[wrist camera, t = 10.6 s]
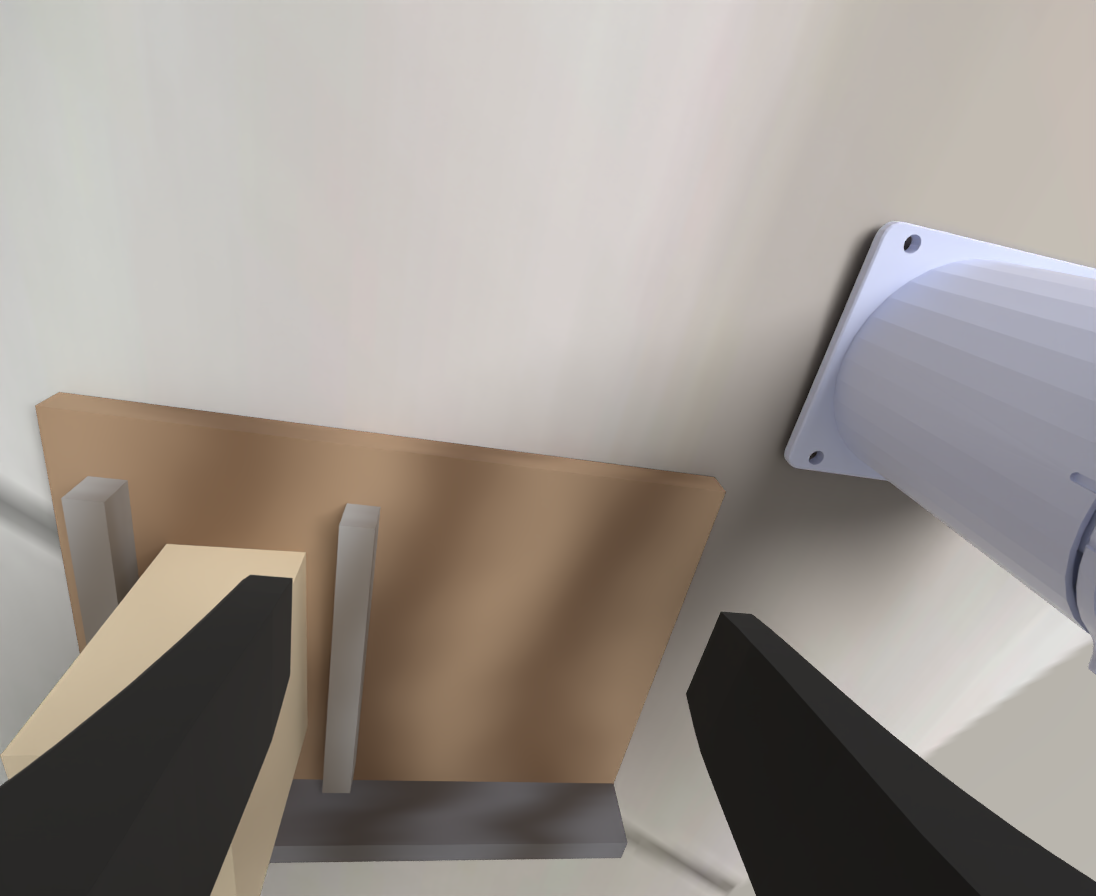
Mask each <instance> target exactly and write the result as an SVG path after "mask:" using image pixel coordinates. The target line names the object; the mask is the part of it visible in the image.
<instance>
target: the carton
mask: <svg viewBox="0 0 1096 896" xmlns="http://www.w3.org/2000/svg"><path fill="white" fill-rule="evenodd" d="M249 575H261V576H274V577H286V578H293V583H292V624H291V665H290V678H289V682H288V685H287V689H286V693H285V696H284V700H283V704H282V707H281V711H280V714H279V718H278V721H277V725H276V728H275V732H274V735H273V739H272V742H271V744H270V747H269V750H268V752H267V755H266V757H265V760H264V762H263V765H262V767H261V770H260V772H259V775H258V778H257V780H256V783H255V785H254V788H253V790H252V793H251V795H250V798H249V800H248V803H247V805H246V808H245V810H244V813H243V815H242V818H241V820H240V823H239V825H238V828H237V830H236V833H235V835H234V838H233V840H232V843H231V845H230V848H229V850H228V853H227V855H226V858H225V860H224V863H223V865H222V868H221V870H220V873H219V875H218V878H217V880H216V883H215V885H214V888H213V890H212V893H211V895H210V896H260V894H261V890H262V886H263V883H264V879H265V876H266V872H267V869H268V865H269V862H270V858H271V855H272V851H273V847H274V844H275V840H276V837H277V833H278V830H279V826H280V823H281V819H282V816H283V812H284V809H285V805H286V801H287V798H288V794H289V791H290V787H291V784H292V780H293V777H294V773H295V770H296V766H297V762H298V759H299V755H300V752H301V748H302V745H303V741H304V738H305V734H306V731H307V727H308V718H307V619H306V552H291V551H275V550H258V549H242V548H225V547H209V546H192V545H176V544H166V545H165V546H164V548H163V549H162V550H161V551H160V553H159V554H158V555H157V557H156V558H155V559H154V560H153V562H152V563H151V564H150V566H149V567H148V568H147V569H146V571H145V572H144V573H143V574H142V576H141V577H140V578H139V580H138V581H137V582H136V583H135V585H134V586H133V587H132V588H131V590H130V591H129V592H128V594H127V595H126V596H125V597H124V599H123V600H122V601H121V602H120V604H119V605H118V606H117V608H116V609H115V610H114V611H113V613H112V614H111V615H110V616H109V618H108V619H107V620H106V622H105V623H104V624H103V625H102V627H101V628H100V629H99V631H98V632H97V633H96V634H95V636H94V637H93V638H92V639H91V641H90V642H89V643H88V645H87V646H86V647H85V648H84V650H83V651H82V652H81V653H80V655H79V656H78V657H77V659H76V660H75V661H74V662H73V664H72V665H71V666H70V667H69V669H68V670H67V671H66V673H65V674H64V675H63V676H62V678H61V679H60V680H59V681H58V683H57V684H56V685H55V687H54V688H53V689H52V690H51V692H50V693H49V694H48V695H47V697H46V698H45V699H44V701H43V702H42V703H41V704H40V706H39V707H38V708H37V710H36V711H35V712H34V713H33V715H32V716H31V717H30V718H29V720H28V721H27V722H26V724H25V725H24V726H23V727H22V729H21V730H20V731H19V732H18V734H17V735H16V736H15V738H14V739H13V740H12V741H11V743H10V744H9V745H8V746H7V748H6V749H5V750H4V752H3V753H2V754H1V755H0V756H1V759H2V762H3V765H4V768H5V771H6V774H7V776H8V779H11V778H12V777H13V776H15V775H16V774H17V773H19V772H20V771H21V770H23V769H24V768H25V767H27V766H28V765H29V764H31V763H32V762H33V761H35V760H36V759H37V758H38V757H40V756H41V755H42V754H44V753H45V752H46V751H48V750H49V749H50V748H52V747H53V746H54V745H55V744H57V743H58V742H59V741H60V740H62V739H63V738H64V737H65V736H67V735H68V734H69V733H70V732H72V731H73V730H74V729H75V728H77V727H78V726H79V725H80V724H81V723H83V722H84V721H85V720H86V719H88V718H89V717H90V716H91V715H93V714H94V713H95V712H96V711H97V710H99V709H100V708H101V707H102V706H104V705H105V704H106V703H107V702H109V701H110V700H111V699H112V698H113V697H115V696H116V695H117V694H118V693H120V692H121V691H122V690H123V689H124V688H125V687H127V686H128V685H129V684H130V683H131V682H133V681H134V680H135V679H136V678H137V677H138V676H139V675H141V674H142V673H143V672H144V671H145V670H146V669H147V668H148V667H150V666H151V665H152V664H153V663H154V662H155V661H156V660H157V659H159V658H160V657H161V656H162V655H163V654H164V653H165V652H167V651H168V650H169V649H170V648H171V647H172V646H173V645H174V644H176V643H177V642H178V641H179V640H180V639H181V638H182V637H183V636H184V635H185V634H186V633H188V632H189V631H190V630H191V629H192V628H193V627H194V626H195V625H196V624H197V623H198V622H199V621H200V620H201V619H203V618H204V617H205V616H206V615H207V614H208V613H209V612H210V611H211V610H212V609H213V608H214V607H215V606H216V605H217V604H218V603H219V602H220V601H221V600H222V599H223V598H224V597H225V596H226V595H227V594H228V593H230V592H231V591H232V590H233V589H234V588H235V587H236V586H237V585H238V584H239V583H240V582H241V581H242V580H243V579H245V578H246V577H247V576H249Z"/></svg>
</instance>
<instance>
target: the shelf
mask: <svg viewBox="0 0 1096 896" xmlns="http://www.w3.org/2000/svg"><path fill="white" fill-rule="evenodd" d="M35 407H36V413H37V418H38V424H39V429H40V435H41V440H42V446H43V451H44V457H45V463H46V468H47V474H48V479H49V485H50V490H51V496H52V501H53V507H54V513H55V518H56V524H57V529H58V535H59V540H60V546H61V551H62V557H63V563H64V568H65V574H66V579H67V585H68V590H69V596H70V601H71V607H72V612H73V618H74V624H75V629H76V635H77V640H78V646H79V651H80V653H81V652H82V651H83V650H84V648H85V647H86V646H87V645H88V643H89V642H90V641H91V639H92V638H93V637H94V636H95V634H96V633H97V632H98V631H99V629H100V628H101V627H102V625H103V624H104V623H105V622H106V620H107V619H108V618H109V616H110V615H111V614H112V613H113V611H114V610H115V609H116V608H117V606H118V605H119V604H120V602H121V601H122V600H123V599H124V597H125V596H126V595H127V594H128V592H129V591H130V590H131V588H132V587H133V586H134V585H135V583H136V582H137V581H138V580H139V578H140V577H141V576H142V574H143V573H144V572H145V571H146V569H147V568H148V567H149V566H150V564H151V563H152V562H153V560H154V559H155V558H156V557H157V555H158V554H159V553H160V551H161V550H162V549H163V548H164V546H165V545H166V544H176V545H192V546H209V547H225V548H242V549H258V550H275V551H291V552H306V619H307V718H308V727H307V731H306V734H305V738H304V741H303V745H302V748H301V752H300V755H299V759H298V762H297V766H296V770H295V773H294V777H293V780H292V784H291V787H290V791H289V794H288V798H287V801H286V805H285V809H284V812H283V816H282V819H281V823H280V826H279V830H278V833H277V837H276V840H275V844H274V847H273V851H272V855H271V858H270V862H269V863H291V862H362V861H433V860H505V859H576V858H621V857H622V854H623V852H624V850H625V847H626V845H627V839H626V835H625V831H624V827H623V822H622V818H621V814H620V809H619V805H618V801H617V797H616V792H615V788H614V784H613V783H614V781H615V778H616V775H617V773H618V770H619V768H620V765H621V762H622V760H623V757H624V755H625V752H626V750H627V747H628V744H629V742H630V739H631V737H632V734H633V731H634V729H635V726H636V724H637V721H638V718H639V716H640V713H641V711H642V708H643V705H644V703H645V700H646V698H647V695H648V692H649V690H650V687H651V685H652V682H653V680H654V677H655V674H656V672H657V669H658V667H659V664H660V661H661V659H662V656H663V654H664V651H665V648H666V646H667V643H668V641H669V638H670V635H671V633H672V630H673V628H674V625H675V622H676V620H677V617H678V615H679V612H680V610H681V607H682V604H683V602H684V599H685V597H686V594H687V591H688V589H689V586H690V584H691V581H692V578H693V576H694V573H695V571H696V568H697V565H698V563H699V560H700V558H701V555H702V553H703V550H704V547H705V545H706V542H707V540H708V537H709V534H710V532H711V529H712V527H713V524H714V521H715V519H716V516H717V514H718V511H719V508H720V506H721V503H722V501H723V498H724V495H725V493H726V491H725V490H724V489H723V487H722V486H721V485H720V484H719V482H718V481H717V480H716V478H715V477H709V476H701V475H694V474H686V473H678V472H671V471H663V470H655V469H647V468H640V467H632V466H624V465H617V464H609V463H601V462H593V461H586V460H578V459H570V458H563V457H555V456H547V455H539V454H532V453H524V452H516V451H509V450H501V449H493V448H485V447H478V446H470V445H462V444H455V443H447V442H439V441H431V440H424V439H416V438H408V437H401V436H393V435H385V434H378V433H370V432H362V431H354V430H347V429H339V428H331V427H324V426H316V425H308V424H300V423H293V422H285V421H277V420H270V419H262V418H254V417H246V416H239V415H231V414H223V413H216V412H208V411H200V410H192V409H185V408H177V407H169V406H162V405H154V404H146V403H138V402H131V401H123V400H115V399H108V398H100V397H92V396H84V395H77V394H69V393H61V392H59V393H57V394H55V395H53V396H52V397H50V398H48V399H46V400H45V401H43V402H41V403H39V404H37V405H36V406H35Z"/></svg>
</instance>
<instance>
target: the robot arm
mask: <svg viewBox="0 0 1096 896" xmlns="http://www.w3.org/2000/svg"><path fill="white" fill-rule="evenodd" d="M910 236H911V238H912V242H911V245H910V246H909V248H908V249H906V250H905V251H904V248H903V247H904V242H905V241H906V239H907V238H908V237H910ZM815 451H817V454H816V456H815V457H814V458H812V459H809V457H810V456H811V454H812V453H814V452H815ZM784 457H785V460H786V461H787V462H788V463H789V464H790V465H791V466H792V467H795V468H798V469H806V470H813V471H820V472H827V473H835V474H842V475H849V476H857V477H864V478H871V479H878V480H886V481H889V482H890V483H892V484H893V485H894V486H896V487H897V488H898V489H900V490H901V491H902V492H903V493H905V494H906V495H907V496H909V497H910V498H911V499H913V500H914V501H915V502H917V503H918V504H919V505H921V506H922V507H923V508H924V509H926V510H927V511H928V512H930V513H931V514H932V515H934V516H935V517H936V518H938V519H939V520H940V521H942V522H943V523H944V524H946V525H947V526H948V527H949V528H951V529H952V530H953V531H955V532H956V533H957V534H959V535H960V536H961V537H963V538H964V539H965V540H967V541H968V542H969V543H970V544H972V545H973V546H974V547H976V548H977V549H978V550H980V551H981V552H982V553H984V554H985V555H986V556H988V557H989V558H990V559H991V560H993V561H994V562H995V563H997V564H998V565H999V566H1001V567H1002V568H1003V569H1005V570H1006V571H1007V572H1009V573H1010V574H1011V575H1012V576H1014V577H1015V578H1016V579H1018V580H1019V581H1020V582H1022V583H1023V584H1024V585H1026V586H1027V587H1028V588H1030V589H1031V590H1032V591H1033V592H1035V593H1036V594H1037V595H1039V596H1040V597H1041V598H1043V599H1044V600H1045V601H1047V602H1048V603H1049V604H1051V605H1052V606H1053V607H1054V608H1056V609H1057V610H1058V611H1060V612H1061V613H1062V614H1064V615H1065V616H1066V617H1068V618H1069V619H1070V620H1072V621H1073V622H1074V623H1075V624H1077V625H1078V626H1079V627H1081V628H1082V629H1083V630H1085V631H1086V632H1087V633H1089V634H1090V635H1091V637H1092V639H1093V644H1094V647H1093V654H1092V657H1091V660H1090V662H1089V669H1090V670H1091V671H1092V672H1093V673H1095V674H1096V269H1095V268H1090V267H1086V266H1082V265H1078V264H1074V263H1070V262H1066V261H1062V260H1058V259H1054V258H1049V257H1045V256H1041V255H1037V254H1033V253H1029V252H1025V251H1021V250H1017V249H1013V248H1008V247H1004V246H1000V245H996V244H992V243H988V242H984V241H980V240H976V239H971V238H967V237H963V236H959V235H955V234H951V233H947V232H943V231H939V230H935V229H930V228H926V227H922V226H918V225H914V224H910V223H906V222H900V221H891V222H888V223H886V224H884V225H883V226H882V227H881V228H880V229H879V230H878V232H877V233H876V235H875V237H874V239H873V242H872V244H871V247H870V249H869V251H868V254H867V256H866V258H865V261H864V263H863V266H862V268H861V270H860V273H859V275H858V278H857V280H856V282H855V285H854V287H853V289H852V292H851V294H850V297H849V299H848V301H847V304H846V306H845V308H844V311H843V313H842V316H841V318H840V320H839V323H838V325H837V327H836V330H835V332H834V335H833V337H832V339H831V342H830V344H829V346H828V349H827V351H826V354H825V356H824V358H823V361H822V363H821V365H820V368H819V370H818V373H817V375H816V377H815V380H814V382H813V385H812V387H811V389H810V392H809V394H808V396H807V399H806V401H805V404H804V406H803V408H802V411H801V413H800V415H799V418H798V420H797V423H796V425H795V427H794V430H793V432H792V434H791V437H790V439H789V442H788V444H787V446H786V449H785V453H784ZM292 583H293V578H286V577H274V576H261V575H249V576H247V577H246V578H245V579H243V580H242V581H241V582H240V583H239V584H238V585H237V586H236V587H235V588H234V589H233V590H232V591H231V592H230V593H228V594H227V595H226V596H225V597H224V598H223V599H222V600H221V601H220V602H219V603H218V604H217V605H216V606H215V607H214V608H213V609H212V610H211V611H210V612H209V613H208V614H207V615H206V616H205V617H204V618H203V619H201V620H200V621H199V622H198V623H197V624H196V625H195V626H194V627H193V628H192V629H191V630H190V631H189V632H188V633H186V634H185V635H184V636H183V637H182V638H181V639H180V640H179V641H178V642H177V643H176V644H174V645H173V646H172V647H171V648H170V649H169V650H168V651H167V652H165V653H164V654H163V655H162V656H161V657H160V658H159V659H157V660H156V661H155V662H154V663H153V664H152V665H151V666H150V667H148V668H147V669H146V670H145V671H144V672H143V673H142V674H141V675H139V676H138V677H137V678H136V679H135V680H134V681H133V682H131V683H130V684H129V685H128V686H127V687H125V688H124V689H123V690H122V691H121V692H120V693H118V694H117V695H116V696H115V697H113V698H112V699H111V700H110V701H109V702H107V703H106V704H105V705H104V706H102V707H101V708H100V709H99V710H97V711H96V712H95V713H94V714H93V715H91V716H90V717H89V718H88V719H86V720H85V721H84V722H83V723H81V724H80V725H79V726H78V727H77V728H75V729H74V730H73V731H72V732H70V733H69V734H68V735H67V736H65V737H64V738H63V739H62V740H60V741H59V742H58V743H57V744H55V745H54V746H53V747H52V748H50V749H49V750H48V751H46V752H45V753H44V754H42V755H41V756H40V757H38V758H37V759H36V760H35V761H33V762H32V763H31V764H29V765H28V766H27V767H25V768H24V769H23V770H21V771H20V772H19V773H17V774H16V775H15V776H13V777H12V778H11V779H9V780H8V781H7V782H5V783H4V784H3V785H1V786H0V896H210V895H211V893H212V890H213V888H214V885H215V883H216V880H217V878H218V875H219V873H220V870H221V868H222V865H223V863H224V860H225V858H226V855H227V853H228V850H229V848H230V845H231V843H232V840H233V838H234V835H235V833H236V830H237V828H238V825H239V823H240V820H241V818H242V815H243V813H244V810H245V808H246V805H247V803H248V800H249V798H250V795H251V793H252V790H253V788H254V785H255V783H256V780H257V778H258V775H259V772H260V770H261V767H262V765H263V762H264V760H265V757H266V755H267V752H268V750H269V747H270V744H271V742H272V739H273V735H274V732H275V728H276V725H277V721H278V718H279V714H280V711H281V707H282V704H283V700H284V696H285V693H286V689H287V685H288V682H289V678H290V665H291V624H292ZM686 696H687V700H688V704H689V709H690V713H691V717H692V721H693V726H694V729H695V733H696V737H697V740H698V744H699V748H700V751H701V754H702V757H703V760H704V763H705V765H706V768H707V771H708V773H709V776H710V778H711V781H712V784H713V786H714V789H715V792H716V794H717V797H718V799H719V802H720V805H721V807H722V810H723V812H724V815H725V817H726V820H727V822H728V825H729V827H730V830H731V833H732V835H733V838H734V840H735V843H736V845H737V848H738V850H739V853H740V856H741V858H742V861H743V863H744V866H745V868H746V871H747V873H748V876H749V879H750V881H751V884H752V886H753V889H754V891H755V894H756V896H1096V882H1095V881H1094V880H1092V879H1091V878H1089V877H1088V876H1086V875H1085V874H1083V873H1081V872H1080V871H1078V870H1077V869H1075V868H1074V867H1072V866H1071V865H1069V864H1068V863H1066V862H1065V861H1063V860H1061V859H1060V858H1058V857H1057V856H1055V855H1054V854H1052V853H1051V852H1049V851H1048V850H1046V849H1045V848H1043V847H1042V846H1040V845H1039V844H1037V843H1036V842H1034V841H1033V840H1032V839H1030V838H1029V837H1027V836H1025V835H1024V834H1023V833H1021V832H1020V831H1018V830H1017V829H1016V828H1014V827H1013V826H1011V825H1010V824H1009V823H1007V822H1006V821H1004V820H1003V819H1002V818H1000V817H999V816H998V815H996V814H995V813H993V812H992V811H991V810H989V809H988V808H986V807H985V806H984V805H982V804H981V803H980V802H978V801H977V800H976V799H974V798H973V797H971V796H970V795H968V794H967V793H966V792H965V791H963V790H962V789H960V788H959V787H958V786H956V785H955V784H954V783H953V782H951V781H950V780H949V779H947V778H946V777H945V776H943V775H942V774H941V773H939V772H938V771H937V770H936V769H934V768H933V767H932V766H930V765H929V764H928V763H927V762H926V761H924V760H923V759H922V758H921V757H919V756H918V755H917V754H916V753H914V752H913V751H912V750H911V749H910V748H908V747H907V746H906V745H905V744H903V743H902V742H901V741H900V740H898V739H897V738H896V737H895V736H893V735H892V734H891V733H890V732H889V731H887V730H886V729H885V728H884V727H883V726H881V725H880V724H879V723H878V722H877V721H876V720H874V719H873V718H872V717H871V716H870V715H868V714H867V713H866V712H865V711H864V710H863V709H861V708H860V707H859V706H858V705H857V704H856V703H854V702H853V701H852V700H851V699H850V698H849V697H848V696H846V695H845V694H844V693H843V692H842V691H841V690H840V689H838V688H837V687H836V686H835V685H834V684H833V683H832V682H830V681H829V680H828V679H827V678H826V677H825V676H824V675H822V674H821V673H820V672H819V671H818V670H817V669H816V668H815V667H813V666H812V665H811V664H810V663H809V662H808V661H807V660H806V659H804V658H803V657H802V656H801V655H800V654H799V653H798V652H796V651H795V650H794V649H793V648H792V647H791V646H790V645H788V644H787V643H786V642H785V641H784V640H783V639H782V638H780V637H779V636H778V635H777V634H776V633H775V632H773V631H772V630H771V629H770V628H769V627H767V626H766V625H765V624H764V623H762V622H761V621H760V620H759V619H757V618H756V617H755V616H754V615H752V614H743V613H730V612H721V613H720V615H719V617H718V620H717V622H716V624H715V627H714V629H713V632H712V634H711V636H710V639H709V641H708V643H707V646H706V648H705V650H704V653H703V655H702V657H701V660H700V662H699V665H698V667H697V669H696V672H695V674H694V676H693V679H692V681H691V683H690V686H689V688H688V690H687V693H686Z"/></svg>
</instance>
